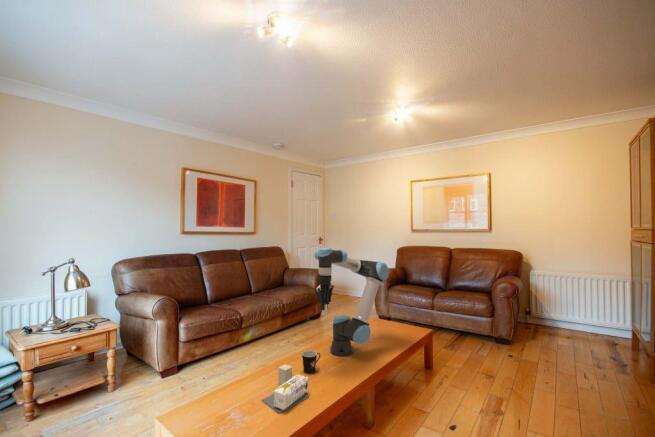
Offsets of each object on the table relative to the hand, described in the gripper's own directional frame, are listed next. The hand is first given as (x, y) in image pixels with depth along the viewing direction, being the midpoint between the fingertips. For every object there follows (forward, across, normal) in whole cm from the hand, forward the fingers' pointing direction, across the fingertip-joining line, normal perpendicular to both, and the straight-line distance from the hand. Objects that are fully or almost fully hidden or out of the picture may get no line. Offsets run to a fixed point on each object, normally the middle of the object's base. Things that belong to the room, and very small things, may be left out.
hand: (324, 315), depth 172 cm
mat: (+32, +32, +6) cm, 46 cm away
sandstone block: (+32, +24, -5) cm, 41 cm away
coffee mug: (+33, +4, -6) cm, 33 cm away
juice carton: (+28, +21, +7) cm, 36 cm away
